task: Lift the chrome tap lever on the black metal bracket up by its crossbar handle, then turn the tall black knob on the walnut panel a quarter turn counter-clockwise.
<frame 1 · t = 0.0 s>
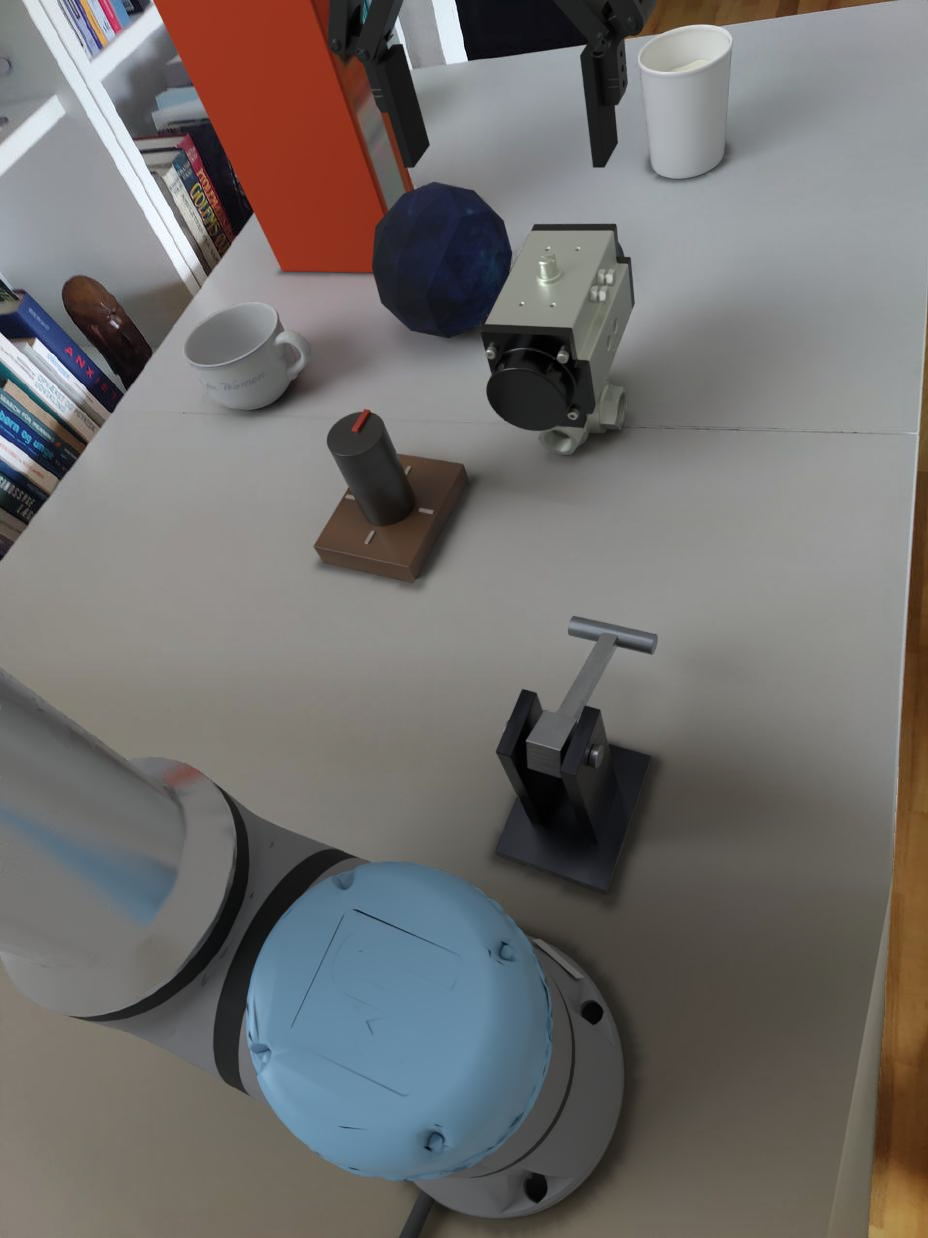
hand: (507, 156, 56), 28 cm above the table, tool pointing down, fingers open, 13 cm apart
file binder: (354, 255, 106), on the table
decorative orb: (458, 319, 94), on the table
candle holder: (687, 160, 100), on the table
ball valve: (582, 424, 80), on the table
dial knob: (372, 469, 73), point 7 cm above the table, hinge at 0.0°
dial panel: (397, 522, 79), on the table
tap bracket: (575, 809, 60), on the table
teacup: (273, 392, 94), on the table
tap lever: (582, 688, 55), point 9 cm above the table, hinge at -20.0°
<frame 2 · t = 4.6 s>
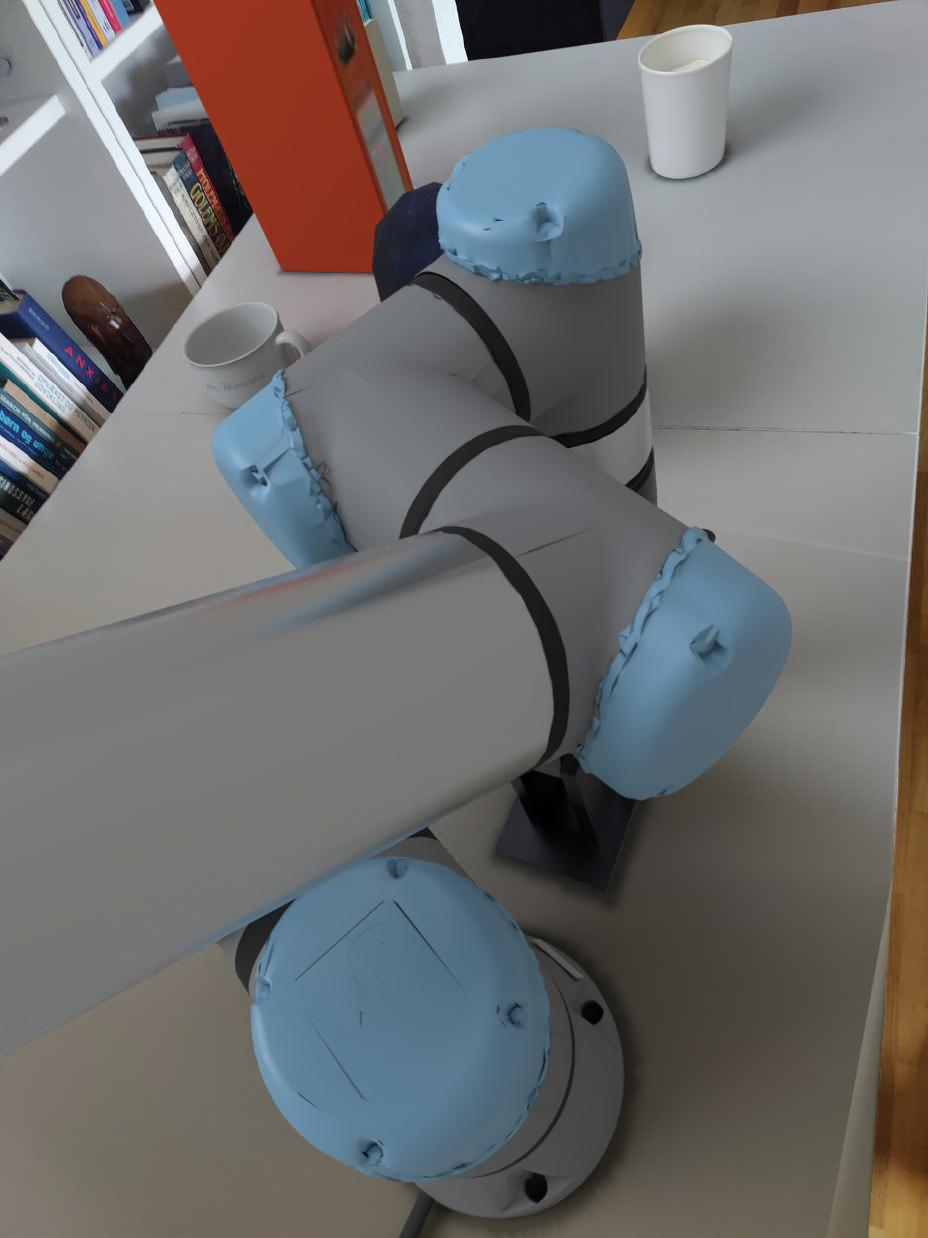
hand: (618, 672, 63), 2 cm above the table, tool pointing down, fingers closed on tap lever, 6 cm apart
tap lever: (582, 688, 55), point 9 cm above the table, hinge at -20.0°, touching gripper
everything else where it was.
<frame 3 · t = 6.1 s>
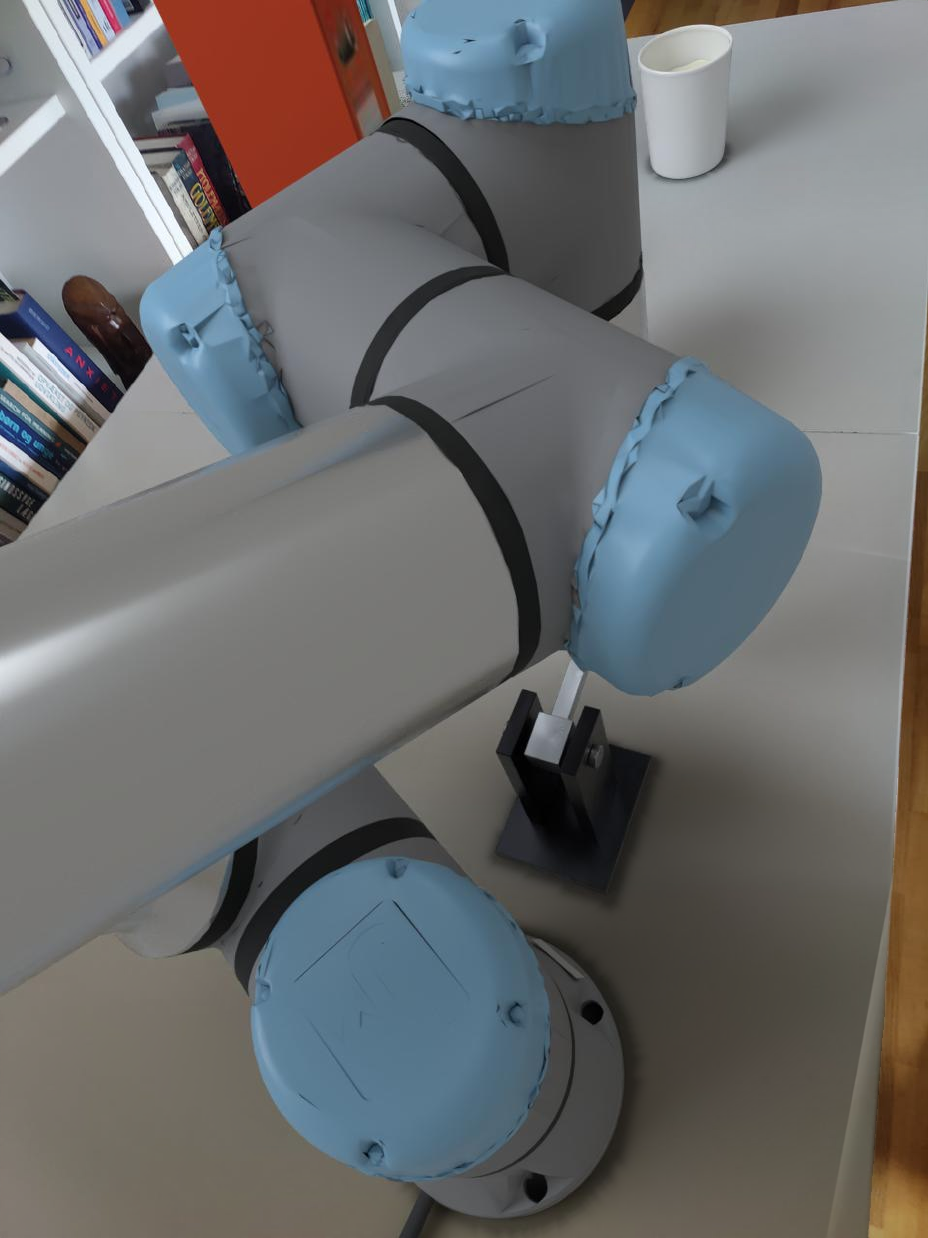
hand: (612, 628, 58), 8 cm above the table, tool pointing down, fingers closed on tap lever, 6 cm apart
tap lever: (579, 666, 53), point 12 cm above the table, hinge at 7.5°, touching gripper
everything else where it was.
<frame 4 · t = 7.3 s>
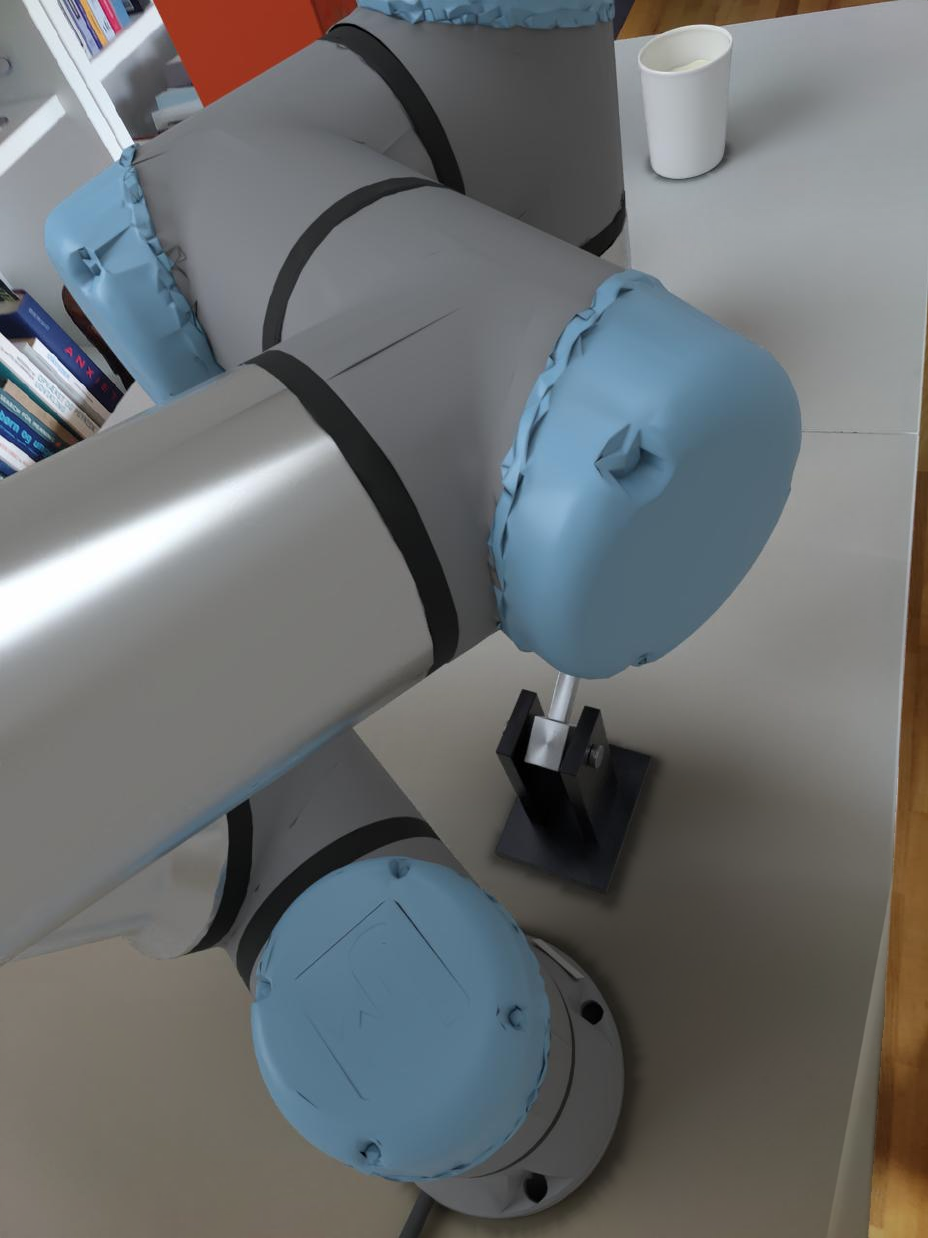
hand: (602, 613, 55), 11 cm above the table, tool pointing down, fingers closed on tap lever, 6 cm apart
tap lever: (573, 660, 51), point 13 cm above the table, hinge at 25.4°, touching gripper
everything else where it was.
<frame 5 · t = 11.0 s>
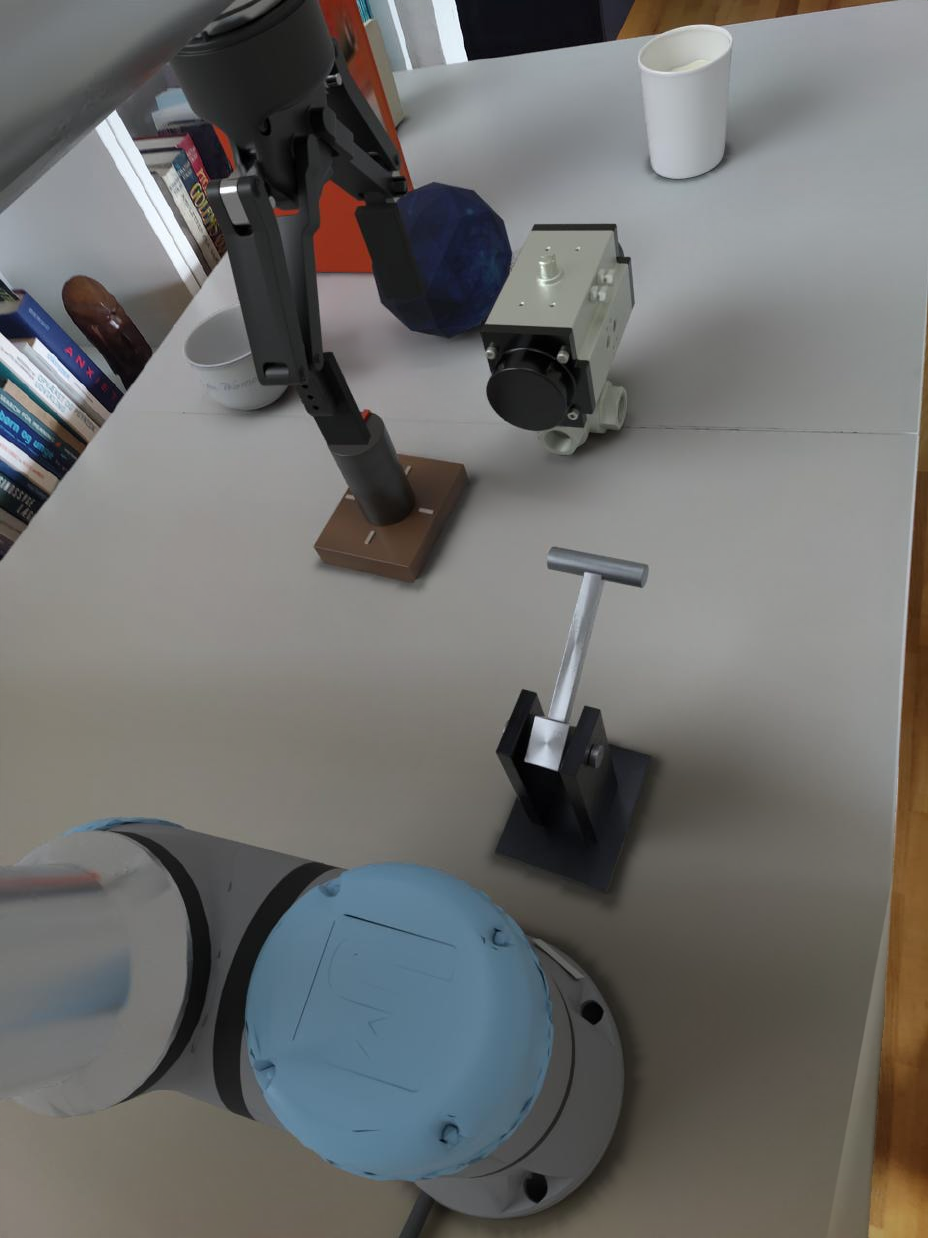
hand: (379, 363, 56), 23 cm above the table, tool pointing down, fingers open, 13 cm apart
tap lever: (573, 660, 51), point 13 cm above the table, hinge at 25.4°
everything else where it was.
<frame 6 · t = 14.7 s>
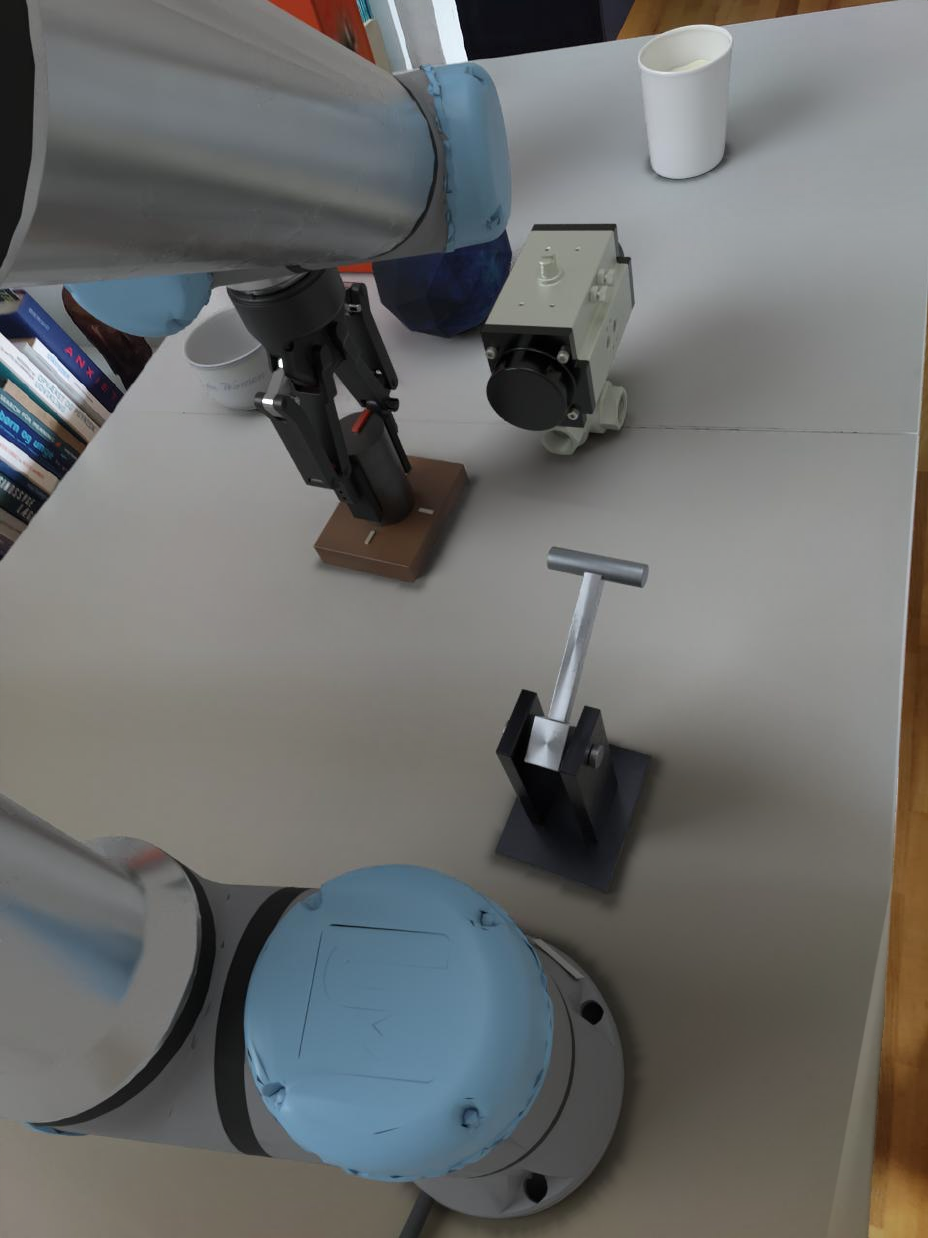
hand: (382, 491, 76), 4 cm above the table, tool pointing down, fingers closed on dial knob, 5 cm apart
dial knob: (372, 469, 73), point 7 cm above the table, hinge at 0.0°, touching gripper
everything else where it was.
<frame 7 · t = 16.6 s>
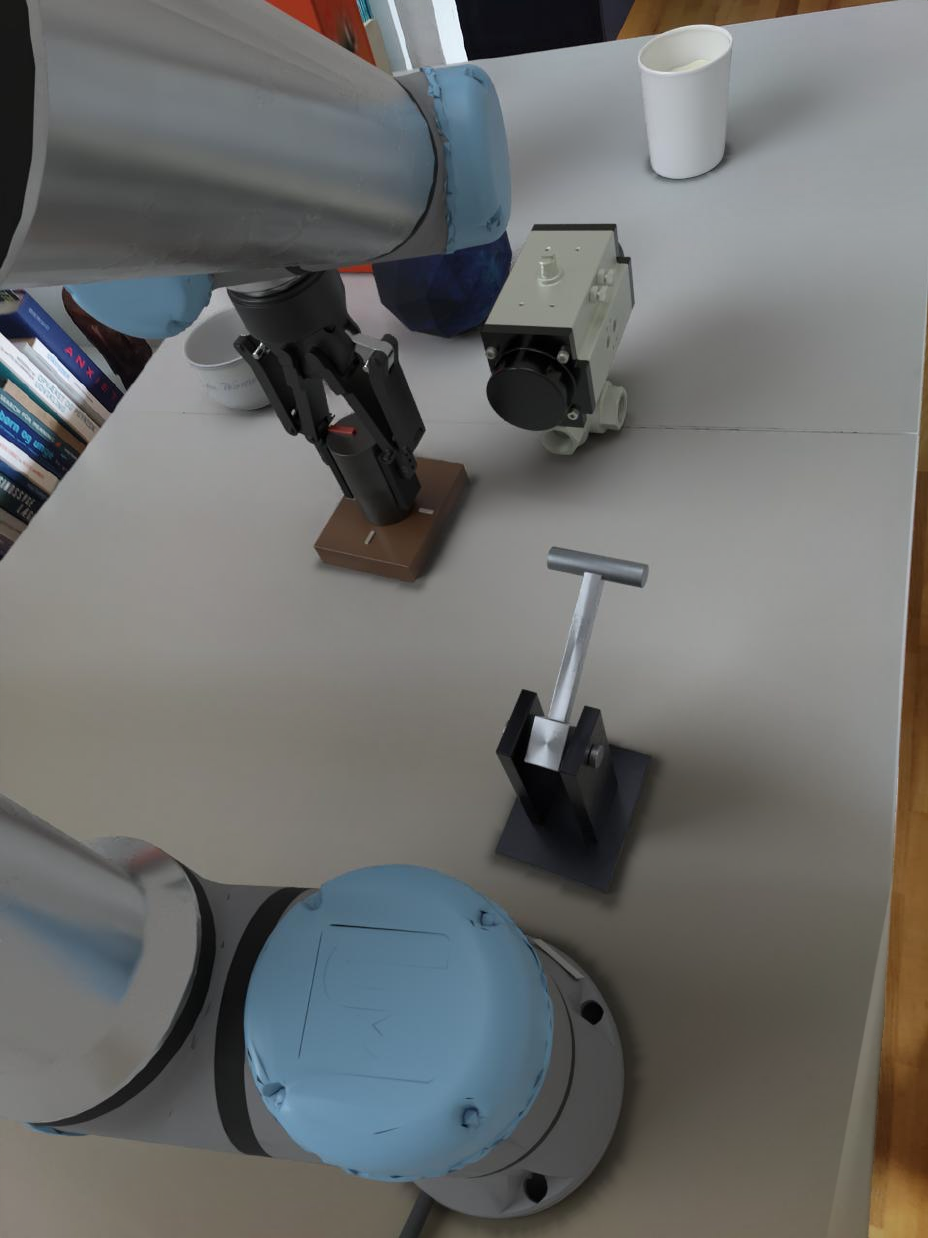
hand: (383, 491, 76), 4 cm above the table, tool pointing down, fingers closed on dial knob, 5 cm apart
dial knob: (372, 469, 73), point 7 cm above the table, hinge at 90.0°, touching gripper
everything else where it was.
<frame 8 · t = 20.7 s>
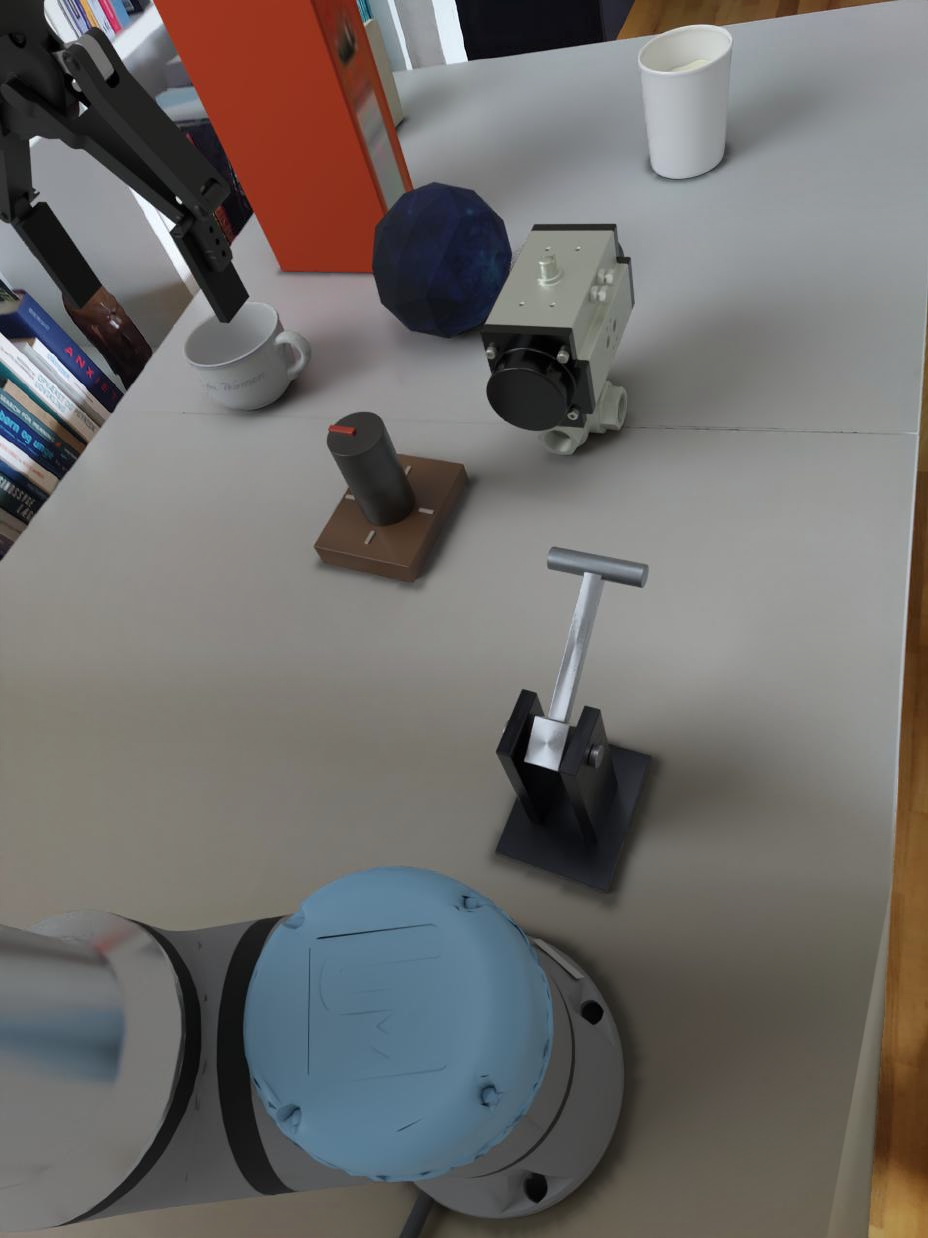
hand: (158, 303, 59), 27 cm above the table, tool pointing down, fingers open, 13 cm apart
dial knob: (372, 469, 73), point 7 cm above the table, hinge at 90.1°
everything else where it was.
at the end: tap lever at +25° (first picture: -20°); dial knob at +90° (first picture: +0°) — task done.
